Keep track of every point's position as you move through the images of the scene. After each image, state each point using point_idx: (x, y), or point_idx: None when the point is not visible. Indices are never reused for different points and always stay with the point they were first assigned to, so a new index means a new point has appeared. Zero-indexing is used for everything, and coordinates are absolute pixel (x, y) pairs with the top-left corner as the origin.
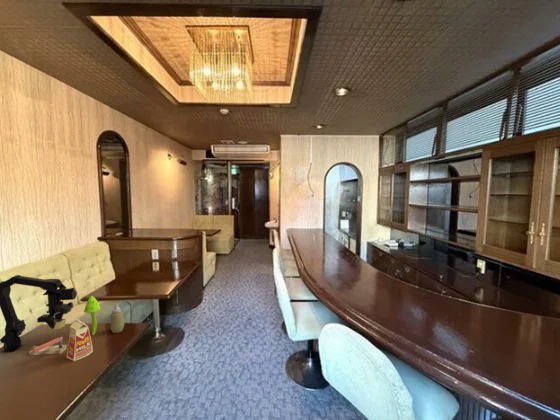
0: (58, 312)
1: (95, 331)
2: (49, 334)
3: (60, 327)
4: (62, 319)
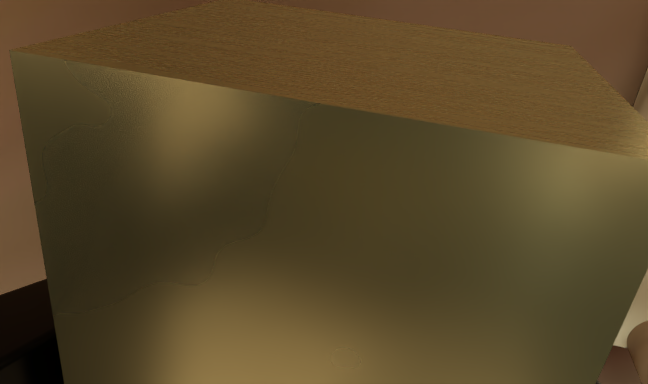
0: None
1: None
2: None
3: (560, 56)
4: (154, 200)
